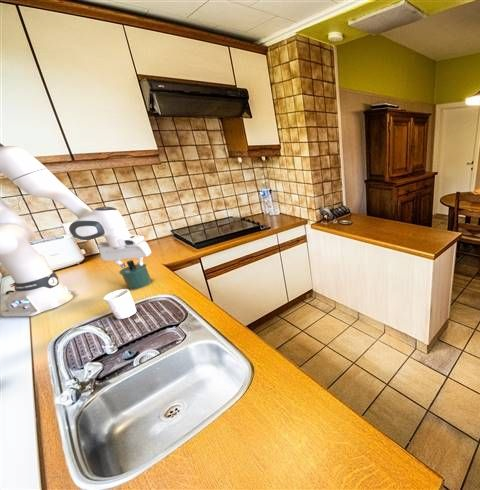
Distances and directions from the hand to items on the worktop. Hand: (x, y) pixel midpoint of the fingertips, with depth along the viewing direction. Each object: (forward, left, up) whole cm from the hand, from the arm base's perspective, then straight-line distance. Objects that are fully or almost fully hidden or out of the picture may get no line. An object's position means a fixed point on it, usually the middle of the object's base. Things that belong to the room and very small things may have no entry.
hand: (132, 266), depth 131 cm
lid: (0, 0, -2) cm, 2 cm away
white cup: (+11, -27, -11) cm, 31 cm away
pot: (0, 0, -10) cm, 10 cm away
